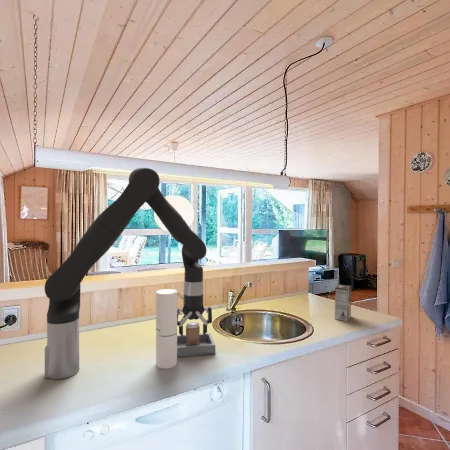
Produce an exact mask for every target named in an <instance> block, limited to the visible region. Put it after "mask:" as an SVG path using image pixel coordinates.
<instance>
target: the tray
mask: <svg viewBox="0 0 450 450" xmlns="http://www.w3.org/2000/svg"><path fill="white" fill-rule="evenodd" d="M212 355H216V344H215V340H214V339H213V336H212V334H211V332H207V333H205V335H203V333H200V345H195V346H186V334H183V336H181V335H180V334H179V335H178V334H177V359H178V358H187V357H188V358H191V357H202V356H212Z"/></svg>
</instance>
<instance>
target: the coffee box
mask: <svg viewBox="0 0 450 450" xmlns="http://www.w3.org/2000/svg"><path fill="white" fill-rule="evenodd" d="M334 289H335V290H334V319H335V320H339V321H343V322H344V321H345V322H348V321H349V320H350V318H351V316H352V285H345V284H338V285H336V287H335V288H334Z"/></svg>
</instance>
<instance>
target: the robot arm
mask: <svg viewBox="0 0 450 450" xmlns="http://www.w3.org/2000/svg"><path fill="white" fill-rule="evenodd" d="M160 182H161V181H160V176H159V173H158V172H157V170H154V169H152V168H150V167H138V168H136V169H133V170H132V171H131V172H130V174H129V177H128V183H127V186H126V187H125V188H124V190H123V191H122V193H121V194H120V195H119V197H118V198H117V199H115V200H114V201H113V202H112V203H111V204H109V206H107V207H106V208H104V210H103V211H102V212H101V213H99V215H98V216H97V217H96V218H95V220H94V221H93V222H92V223H91V224H90V226H89V227H88V228H87V230H86V231H85V233H84V234H83V235H82V236H81V238H80V240H79V241H78V243H77V244H76V245H75V248H74V250H72V252H71V253H70V255H69V256H68V257H67V258H66V259H65V261H64V262H63V263H62V264H61V265H60V266H59V267H58V268H56V270H55V271H54V272H53V273H52V274H50V275H49V276H48V277H47V279H46V280H45V284H44V294H45V296H46V297H47V298H48V299H49V300H48V303H49V304H48V309H47V313H46V345H45V347H44V378H45V379H51V380H63V379H66V378H69V377H72V376H74V375H76V374H77V373H78V372H79V370H80V310H81V283H82V282H83V280H84V278H85V277H86V276H87V274H88V272H89V271H90V269H92V267H93V266H94V265H95V264H96V263H97V262H99V260H100V259H101V258H102V257H103V256H104V255H105V254H106V253H107V252H108V251H109V249H111V247H112V246H113V245H114V244H115V243H116V241H117V240H118V239H119V238H120V236H121V235H122V233H123V232H124V231H125V229H126V228H127V227H128V225H129V224H130V223H131V221H132V219H133V218H134V216H135V215H136V213H137V212H138V211H139V210H140V208H141V207H142V206H143V205H144V204H145V203H147V205H148V206H149V207H150V208H151V210H152V211H153V212H154V213H155V214H156V216H157V217H158V218H159V220H160V221H161V223H162V225H164V227H165V229H166V230H167V232H168V233H169V234H170V235H171V236H172V238H173V239H174V240H175V241H176V242H178V243H180V244H181V245H182V248H181V257H182V262H183V263H182V264H183V268H184V282H183V283H184V284H183V289H182V290H183V307H182V308H178V307H177V327H178V334H179V335H181V336H183V335H184V325H185V324H186V322H187V321H188V320H189V321H191V320H195V321H196V320H200V321H201V322H202V334H203V335H205V333H208V326H209V324H212V323H213V314H212V313H213V312H212V311H213V310H212V307H211V306H210V305H208V306H206V307H204V269H203V266H202V265H201V264H200V262H199V260H202V259H203V258H205V256H206V255H207V251H208V249H207V246H206V244H205V242H204V241H203V240H202V238H200V236H199V235H197V233H195V231H193V230H192V229H191V228H190V226H189V225H188V223H187V222H186V220H185V219H184V218H183V216H182V215H181V214H180V213H179V211H178V210H176V208H175V207H174V206H173V205H172V204H171V203H170V202H169V201H168V200H167V199H166V197H165V196H164V194H163V192H161V190H160V188H159V186H160ZM204 312H205V313H206V314H207V319H206V318H205V317H204V316H203V314H204ZM181 313H183V316H182V317H181V319H180V321H179V315H181Z"/></svg>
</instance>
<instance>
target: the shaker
mask: <svg viewBox="0 0 450 450" xmlns="http://www.w3.org/2000/svg"><path fill="white" fill-rule="evenodd" d="M185 324H186V326H185V335H186V346H195V345H200V334H201V333H200V332H201V331H200V327H201V326H200V323H199V322H198V321H189V322H187V323H185Z"/></svg>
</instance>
